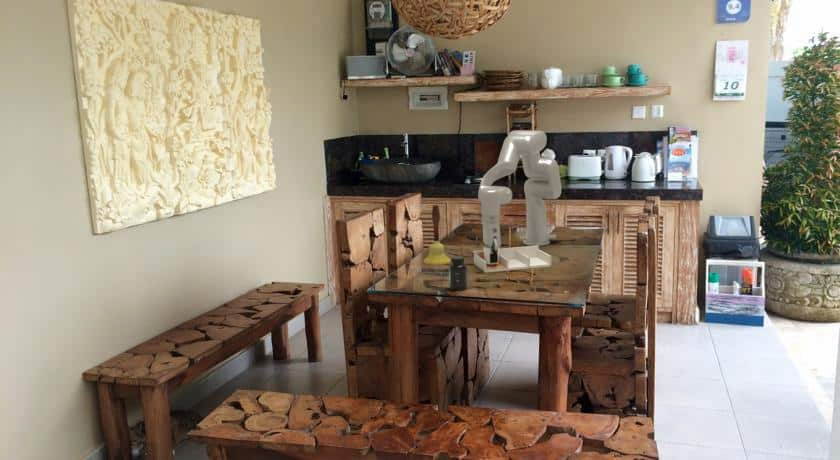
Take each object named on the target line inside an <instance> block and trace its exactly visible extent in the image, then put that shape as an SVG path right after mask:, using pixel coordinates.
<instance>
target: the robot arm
mask: <svg viewBox="0 0 840 460" xmlns="http://www.w3.org/2000/svg"><path fill="white" fill-rule="evenodd" d="M547 139H548V137H547V134H546V133H545V132H544V131H543V130H526V129H525V130H518V129H517V130H512V131H510V132H509V133H508V135H507V136H506V137H505V139H504V140H503V144H502V147H501V150H500V154H499V157H498V159H497V163H496V164H495V165H494V166H492V167H491V168H490V169H489V170H488V171H487V172H486V173H485V174H484V175H483V177H482V178H481V181H480V184H479V186H478V187H479V188H478V194H477V196H478V200H479V201H480V203H481V205H480V206H481V208H480V209H481V223H482V241H483V243H484V246H487V245H488V246H489V247H490V251H491V254H490V263H497V262H498V246H499V247H501V245H502V241H501V229H500V227H501V226H500V222H501V221H500V220H501V213H500V212H501V211H500V210H501V209H500V205H507V204H509V203H510V202H511V201H512V199H513V192H512V190H511V189H510V188H509V187H507V186H501V185H500V186H498V185H493V183H494V182H496V181H497V180H500V179H501V178H504V177H506V176H509V175H512V174H513V173H515V172H516V171H517V167H518V164H519V161H520V157H521V162H522V167H523V172H524V175H525V176H526V178H528V179H527V180H525V183H524V185H523V186H524V187H523V190H524V195H525V196H524V197H525V206H526V209H525V210H526V211H525V213H526V218H525V220H526V239H523V240H522V241H523V242H522V243H523V245H526V246H537V245H538V246H539V247H540V246H546V245H549V244H550V243H551V241H550V239H551V240H553V239H557V234H549V233H547V205H546V203H545V202H544V200H543V199H550V200H555V199H558V198H559V197H560V196H561V194H562V182H561V175H560V170H559V169H560V168H559V164H558V162H557V161H556V160H555V159H554V158H550V157H549V158H548V157H541V153H540V152H541V151H542V150H543V149H544V148H545V147H546V146H547ZM492 245H494V246H492ZM492 248H493V250H492Z"/></svg>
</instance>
